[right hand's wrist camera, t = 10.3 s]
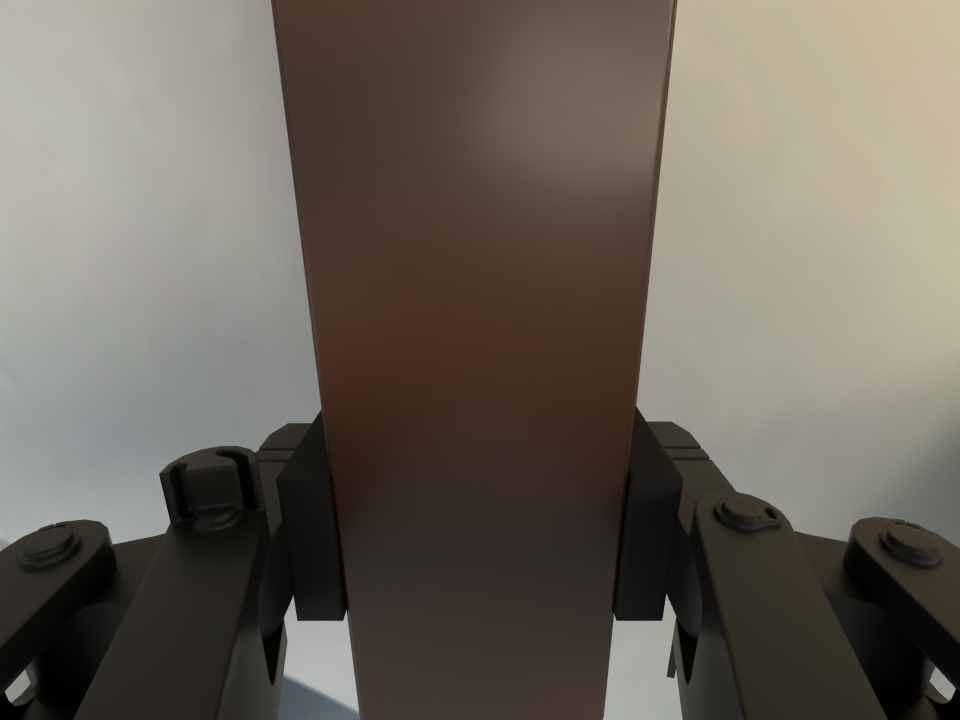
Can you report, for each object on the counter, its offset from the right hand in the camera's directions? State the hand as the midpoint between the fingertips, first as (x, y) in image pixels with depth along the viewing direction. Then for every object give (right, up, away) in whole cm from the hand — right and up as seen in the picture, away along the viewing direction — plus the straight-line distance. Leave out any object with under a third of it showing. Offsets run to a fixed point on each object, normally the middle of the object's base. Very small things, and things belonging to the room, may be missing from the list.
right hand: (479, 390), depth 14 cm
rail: (0, +12, -3) cm, 12 cm away
